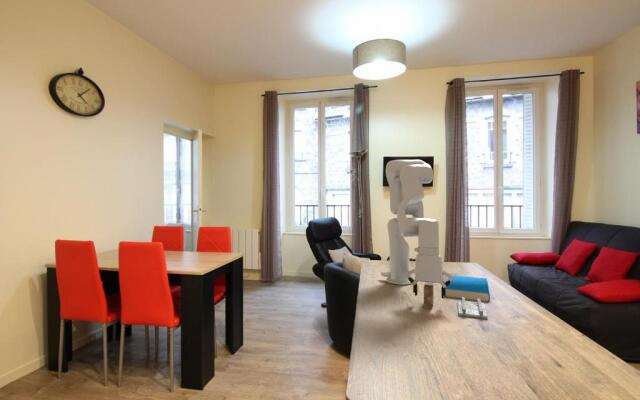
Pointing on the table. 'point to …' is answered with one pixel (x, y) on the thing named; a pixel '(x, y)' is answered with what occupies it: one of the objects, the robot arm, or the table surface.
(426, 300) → the door panel
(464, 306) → the floor track
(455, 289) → the book
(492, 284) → the table surface
